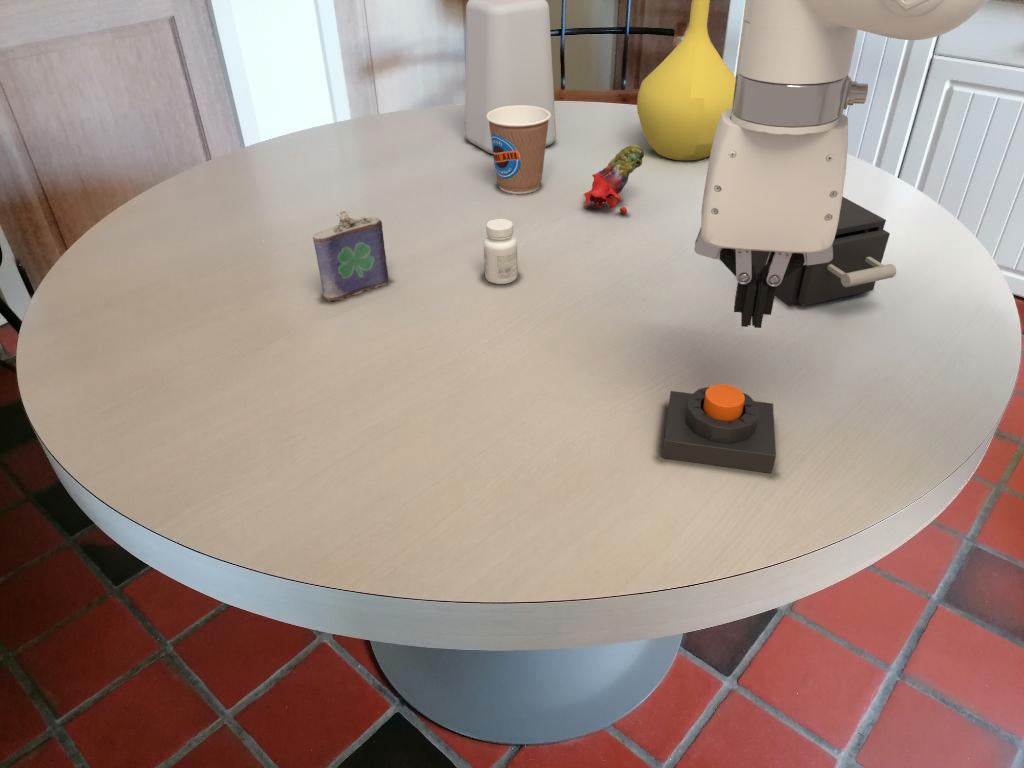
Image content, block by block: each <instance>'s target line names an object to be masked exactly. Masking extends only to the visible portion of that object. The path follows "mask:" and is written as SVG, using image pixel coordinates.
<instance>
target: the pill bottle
mask: <svg viewBox="0 0 1024 768" xmlns="http://www.w3.org/2000/svg"><path fill="white" fill-rule="evenodd" d="M485 227H486V232H485V233H486V236H487V237H485V239H484V240H483V261H484V265H483V266H484V277H485V279H486V281H487V282H489V283H492V284H495V285H507V284H510V283H513V282H514V281H515V280H516V279H517V278H518V274H519V273H518V268H519V267H518V240H517V239H516V238H515V236H513V235H514V223H513V222H512V221H511V220H510V219H505V218H493V219H491V220H489V221H487V223H486V225H485Z"/></svg>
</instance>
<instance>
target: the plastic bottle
mask: <svg viewBox="0 0 1024 768" xmlns="http://www.w3.org/2000/svg"><path fill="white" fill-rule="evenodd" d="M550 16H551V15H550V5H549V3H548V1H547V0H468V1H467V2H466V8H465V98H464V99H465V100H464V101H465V103H464V104H465V106H464V109H465V111H464V113H465V114H464V117H465V118H464V119H465V120H464V126H465V127H464V134H465V138H466V139H467V141H468V142H470V143H471V144H473V145H475V146H477V147H478V148H480V149H481V150H483V151H485V152H487V153H489V154H491V155H493V149H492V142H491V133H490V127H489V121H488V119H487V117H486V116H487V114H488V113H489V112H490V111H492V110H494V109H497V108H501V107H506V106H516V105H525V106H535V107H540V108H543V109H546V110H547V111H549V112H550V114H551V117H550V118H549V120H548V121H549V122H548V130H547V138H546V146H545V148H546V147H549V146H551V145H552V144H553V143H555V141H556V138H557V128H556V127H557V125H556V108H555V91H554V90H555V87H554V71H553V56H552V36H551V35H552V33H551V19H550Z"/></svg>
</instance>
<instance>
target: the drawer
mask: <svg viewBox="0 0 1024 768" xmlns="http://www.w3.org/2000/svg"><path fill="white" fill-rule="evenodd" d="M869 231H870V229H865V230H860V231H855V232H850V233H845V234H839V235H835V238H834V241H833V243H832V246H833V259H832V260H831V261H830V262H828V263H822V264H815V265H804V266H803V270H802V274H801V279H800V283H799V287H798V292H797V293H799V292H800V294H799V298H798V302H800V303H801V304H800V305H802V306H808V305H813V304H817V303H821V302H822V303H823V302H826V301H830V300H834V299H840V298H844V297H849V296H853V295H857V294H863V293H867V292H872V291H874V288H875V286H876V282H878V281H883V280H887V279H891V278H894V277H896V275H897V268H896V265H894V264H892V263H889V264H883V263H882V261H883V259H884V255H885V252H886V248H887V245H888V242H889V237H890V235H891V234H890V232H889V231H887V230H885V229H883V230H878V231H873V232H869Z"/></svg>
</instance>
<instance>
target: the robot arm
mask: <svg viewBox="0 0 1024 768" xmlns="http://www.w3.org/2000/svg"><path fill="white" fill-rule="evenodd" d="M988 2H990V0H745V2H744V9H743V16H742V25H741V34H740V42H739V48H738V58H737V64H736V66H737V67H736V73H735V77H736V81H735V89H734V97H733V105H732V109H729V110H726V111H724V112H722V114H721V117H720V119H719V122H718V126H717V129H716V133H715V136H714V140H713V144H712V149H711V154H710V156H709V159H708V166H707V171H706V177H705V183H704V189H703V195H702V196H703V198H702V204H701V221H700V228H699V230H698V231H699V232H698V234H697V237H696V239H695V241H694V252H695V253H696V254H697V255H700V256H702V257H705V258H710V259H713V260H718V261H721V263H722V264H723V265H724V266H725V267H726V268H727V269H728V270H729V271H730V272H731V274H732V275H733V276H735V279H736V282H737V283H736V284H737V285H736V290H735V297H734V306H733V310H734V311H733V312H734V313H740V314H741V316H740V317H741V318H740V319H741V320H740V322H741V324H740V325H741V327H742V328H748V327H749V326H752V327H754V328H756V329H761V328H762V325H763V318H764V315H766V316H767V315H768V316H771V315H772V311H773V306H774V301H775V297H776V296H775V290H776V286H778V285H780V284H781V282H782V280H783V279H784V278H785V277H787V276H788V275H790V274H791V273H793V272H794V271H796V270H797V269H798V268H800V267H801V266H803V265H815V264H822V263H828V262H830V261H831V260H832V259H833V246H832V243H833V241H834V238H835V235H836V231H837V226H838V221H839V215H840V209H841V202H842V196H843V194H844V188H845V181H846V180H845V179H846V173H847V163H848V162H847V160H848V151H849V150H848V149H849V118H848V116H847V115H845V114H843V113H844V110H847V108H848V106H853V105H854V104H859V105H860V104H863V105H864V104H865V103H866V100H867V98H868V93H869V84H868V83H864V82H863V83H861V82H859V83H858V81H856V80H852V78H851V77H850V76H849V74H850V70H851V65H852V62H853V61H852V60H853V56H854V50H855V45H856V41H857V36H858V31H861V32H866V33H870V34H874V35H877V36H880V37H886V38H889V39H897V40H902V41H903V40H904V41H921V40H928V39H933V38H936V37H939V36H942V35H944V34H945V35H946V34H947V33H949V32H951V31H953V30H955V29H956V28H959V27H960V26H961V25H963V24H964V23H966V22H967V21H968V20H969V19H970V18H972V17H973V16H974V15H975V14H976V13H978V12H979V11H980V9H982V8H983V7H985V4H987V3H988ZM751 250H753V251H769V252H770V253H769V256H768V259H767V262H766V265H765V266H764V267H762V269H761V271H760V273H758V275H757V281H756V272H755V267H754V266H753V265H752V264H751Z"/></svg>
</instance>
